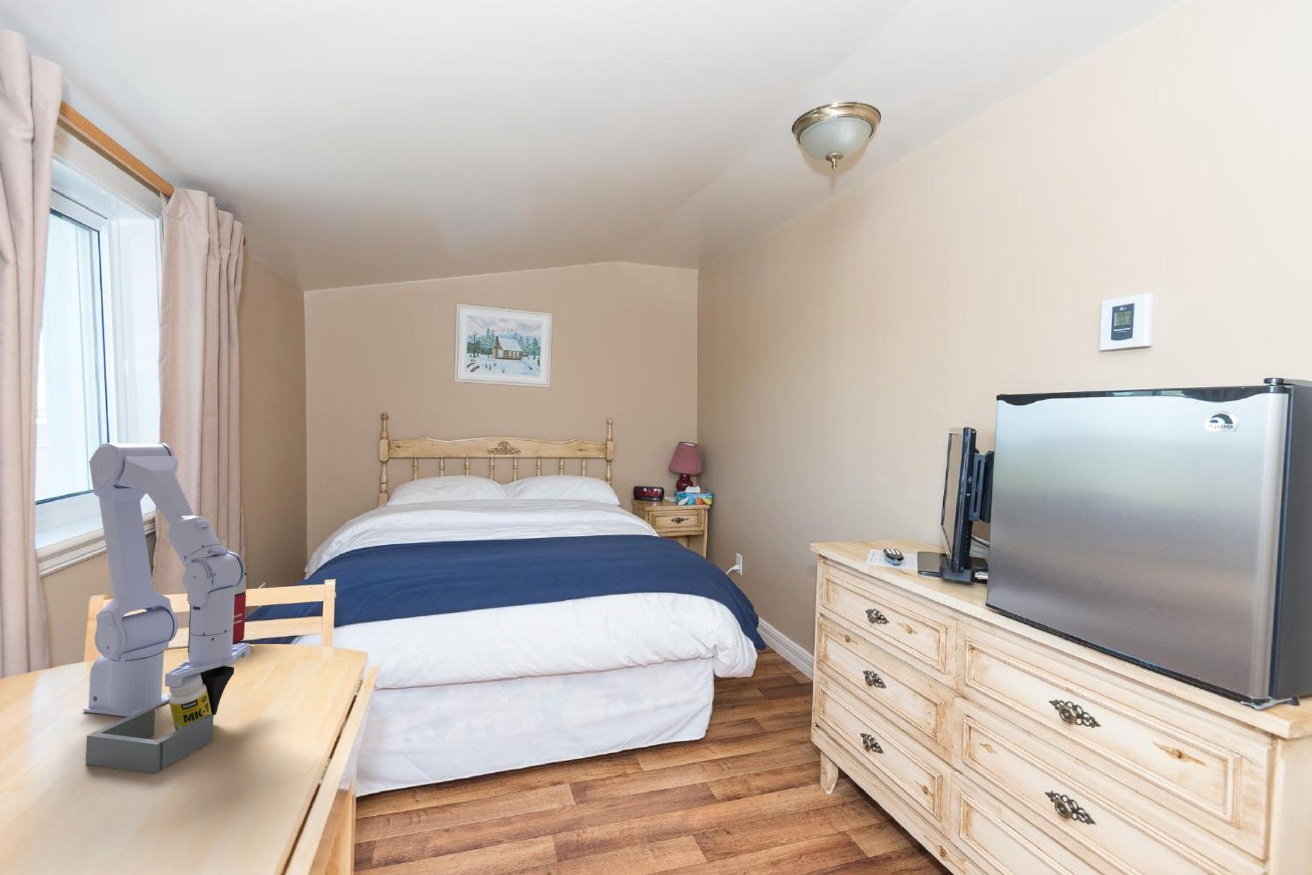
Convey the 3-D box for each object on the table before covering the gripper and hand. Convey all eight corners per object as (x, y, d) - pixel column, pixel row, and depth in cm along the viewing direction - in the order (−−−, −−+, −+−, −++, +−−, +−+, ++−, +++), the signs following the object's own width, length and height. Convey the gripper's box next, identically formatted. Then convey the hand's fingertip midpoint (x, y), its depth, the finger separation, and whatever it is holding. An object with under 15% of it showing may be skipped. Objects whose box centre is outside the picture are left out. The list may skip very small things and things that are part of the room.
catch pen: (85, 764, 89) (86, 735, 89) (148, 733, 98) (149, 707, 98) (155, 773, 87) (156, 744, 87) (212, 741, 97) (213, 714, 97)
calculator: (202, 656, 130) (205, 583, 130) (184, 654, 131) (188, 581, 131) (246, 640, 141) (250, 572, 141) (230, 638, 142) (233, 570, 142)
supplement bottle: (186, 740, 97) (175, 694, 95) (169, 729, 99) (158, 683, 97) (219, 721, 101) (210, 676, 99) (202, 711, 103) (193, 666, 101)
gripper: (196, 646, 95) (192, 738, 95) (267, 619, 109) (264, 698, 109) (153, 642, 96) (150, 733, 96) (230, 616, 110) (227, 694, 110)
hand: (208, 714), depth 103 cm, fingers closed, pressing on supplement bottle
